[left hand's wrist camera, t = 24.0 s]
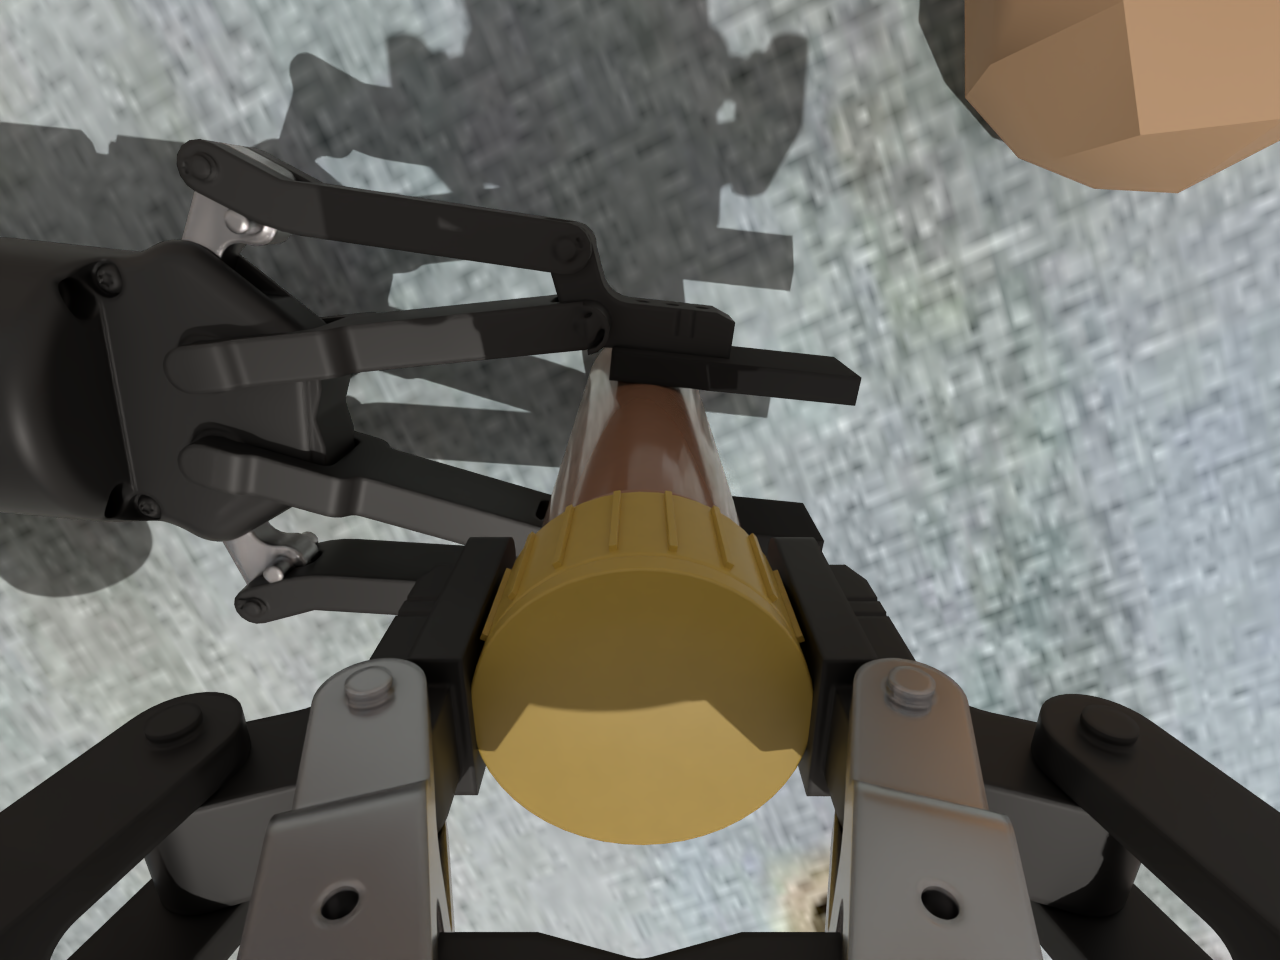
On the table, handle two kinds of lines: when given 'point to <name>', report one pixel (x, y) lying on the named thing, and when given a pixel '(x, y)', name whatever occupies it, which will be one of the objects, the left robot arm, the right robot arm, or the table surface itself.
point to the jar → (639, 445)
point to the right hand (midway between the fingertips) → (824, 458)
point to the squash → (1127, 85)
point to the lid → (641, 673)
